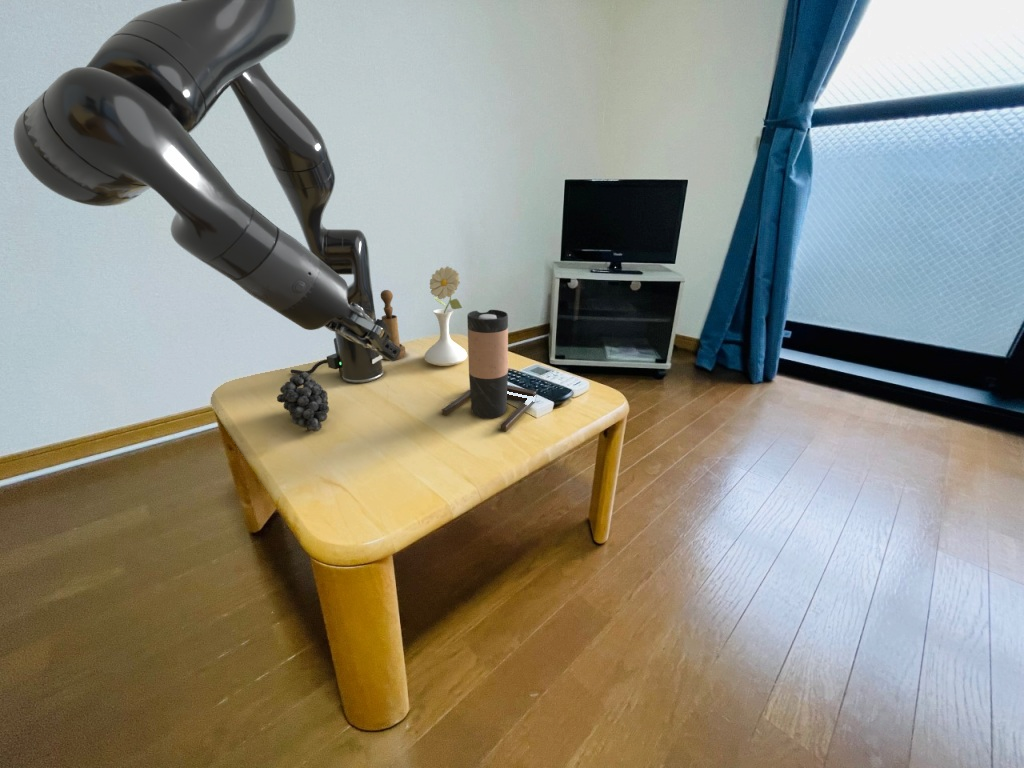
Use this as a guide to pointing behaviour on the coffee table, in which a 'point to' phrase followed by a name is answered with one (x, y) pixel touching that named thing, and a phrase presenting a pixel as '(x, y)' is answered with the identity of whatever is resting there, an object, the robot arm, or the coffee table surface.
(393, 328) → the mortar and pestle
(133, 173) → the robot arm
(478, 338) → the travel mug
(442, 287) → the flower in vase
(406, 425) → the coffee table surface
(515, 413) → the walnut stand
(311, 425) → the fruit
